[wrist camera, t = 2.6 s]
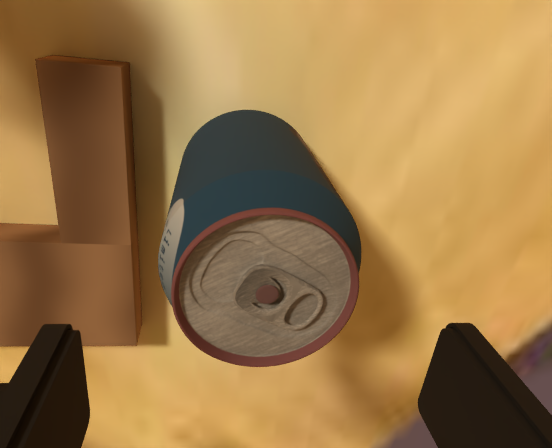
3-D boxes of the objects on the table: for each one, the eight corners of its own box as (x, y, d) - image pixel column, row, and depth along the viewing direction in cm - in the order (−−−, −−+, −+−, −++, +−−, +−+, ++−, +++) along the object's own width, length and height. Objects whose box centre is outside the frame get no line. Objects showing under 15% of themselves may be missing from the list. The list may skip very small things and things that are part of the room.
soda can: (160, 187, 23) (108, 334, 13) (224, 77, 21) (228, 143, 10) (264, 242, 26) (295, 406, 15) (331, 148, 23) (424, 261, 13)
